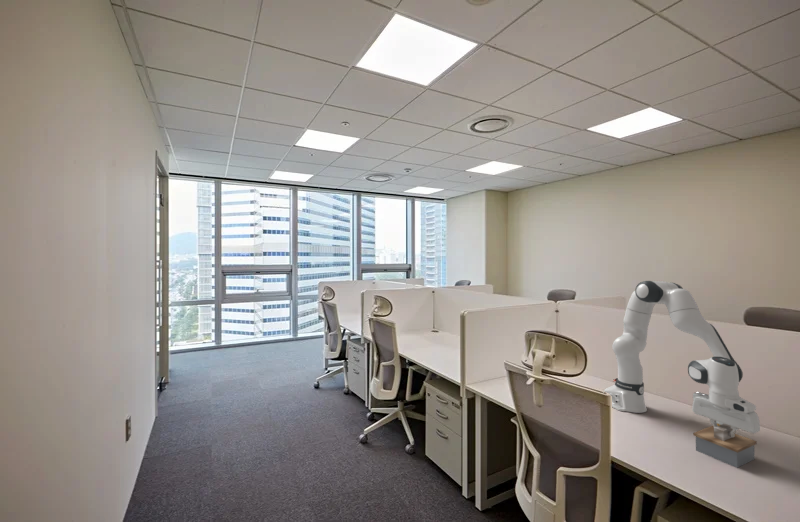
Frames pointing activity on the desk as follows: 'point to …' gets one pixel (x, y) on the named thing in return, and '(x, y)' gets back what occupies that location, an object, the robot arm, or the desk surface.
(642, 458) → the desk surface
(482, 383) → the desk surface
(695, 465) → the desk surface
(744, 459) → the storage box
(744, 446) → the lid
